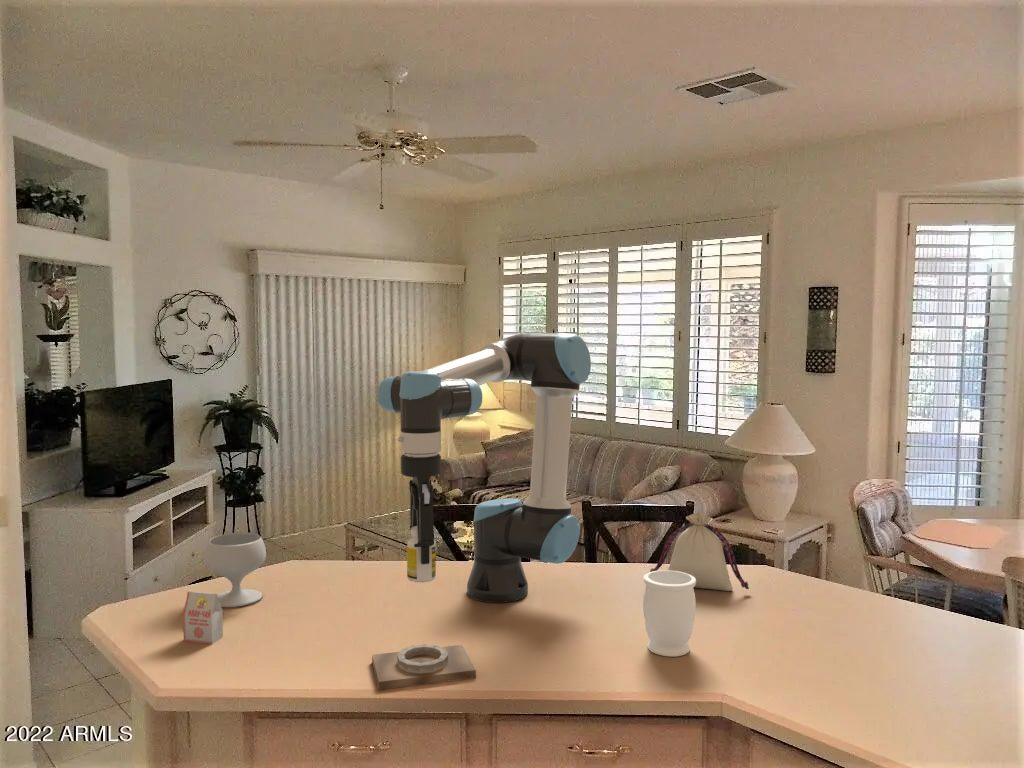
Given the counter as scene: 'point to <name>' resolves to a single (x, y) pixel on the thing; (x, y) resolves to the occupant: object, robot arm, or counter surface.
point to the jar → (669, 611)
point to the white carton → (202, 618)
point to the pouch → (701, 555)
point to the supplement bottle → (413, 558)
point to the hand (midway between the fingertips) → (421, 574)
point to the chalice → (235, 564)
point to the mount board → (422, 666)
